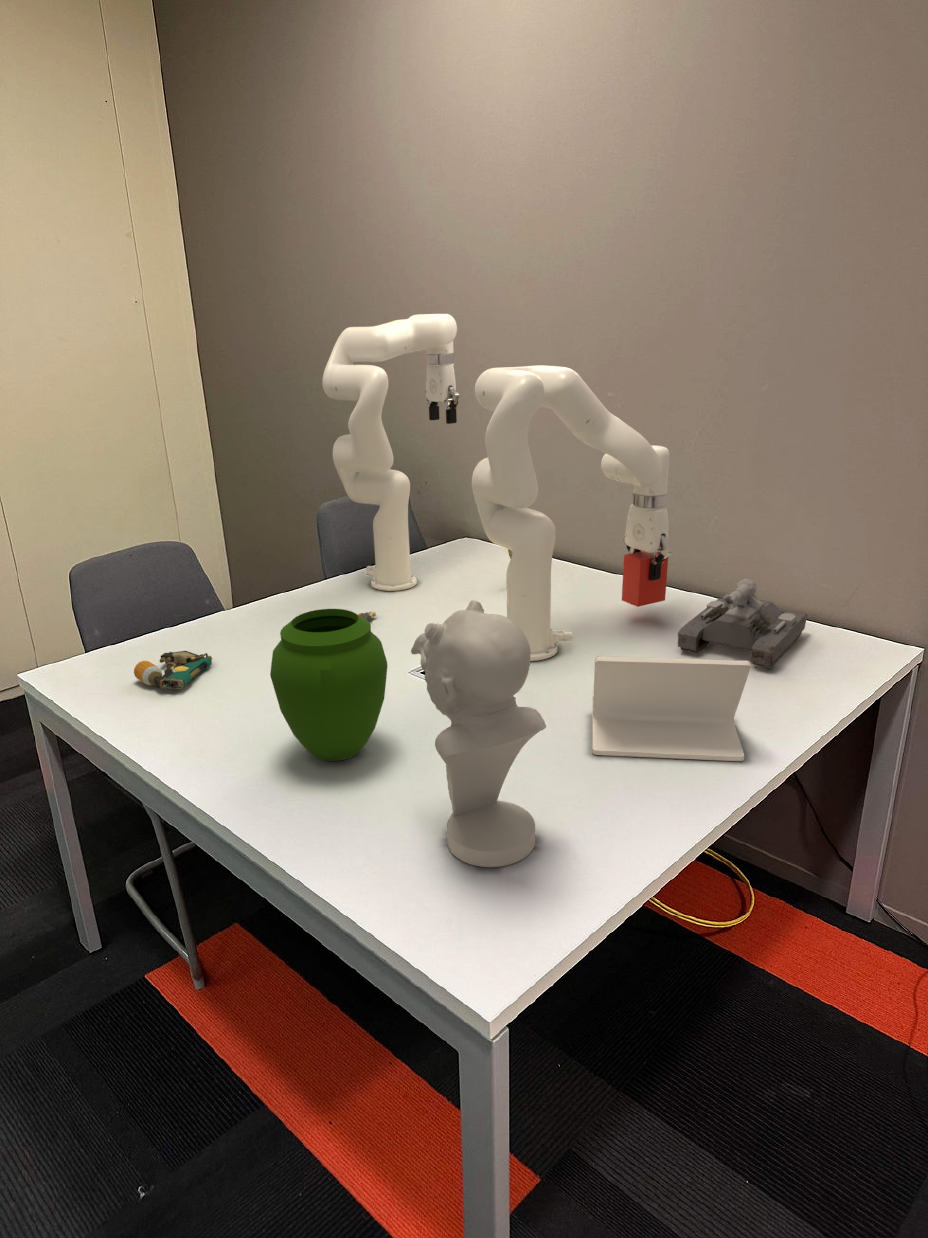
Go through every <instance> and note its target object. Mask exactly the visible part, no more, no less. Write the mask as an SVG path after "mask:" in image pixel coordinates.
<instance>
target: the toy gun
mask: <svg viewBox="0 0 928 1238" xmlns="http://www.w3.org/2000/svg"><path fill="white" fill-rule="evenodd" d="M357 615H359V616H361V617H363V618H365V619H366V620H367V621H369V622H370V620H371V619H373V618H374V617H377V612H376V611H369V612H368V611H366V612H359V613H358V614H357Z"/></svg>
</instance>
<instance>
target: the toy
mask: <svg viewBox="0 0 928 1238" xmlns="http://www.w3.org/2000/svg"><path fill="white" fill-rule="evenodd" d="M757 590H758V589H757V584H756V583H755V582H754V580H752V579H750V578H743V579H741V580H740V581H738V582H737V585H736V588H735V589H734V590H733V591H732V592H730V593H725V594H724V596H723V597H722V598H720V597H719V598H717V599H716V600H711V601H710V602H709V603H707V604H706V607H705V608H704V609H703V610H701V612H699V613H698V614H697V615H696V616H694V617H692V619H690V620H688V622H686V623H685V624H684V625H682V626H681V627H680V629H679V630H678V632H677V647H679V649H680V650H681V651H683V652H688V653H693V654H699V653H700V652H701V651H703V650H704V649H705V648H706V647H707V646H708V645H710V644H713V645H718V646H724V647H728V648H734V649H738V650H743V651H748V652H750V661H749V662H750V663H752V665H755V666H759V667H764V668H769V669H772V668H773V667H774V665H776V664H777V662H778V661H779V660H781V658H782V657H783V656H784V655H785V654H786V652H788V651H789V650H790V648H791V647H792V646H793V645H794V644H795V643H797V640H799V638H801V635H802V633H803V631H804V630H805V628H806V624H807V619H808V613H803V612H799V611H793V610H786V611H785V612H783V611H781V610H780V608H778V606H777V605H775V603H774V602H773V601H772V600H765V599H759V598H758V596H756V595H755V594H756V592H757Z"/></svg>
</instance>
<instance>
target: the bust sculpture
mask: <svg viewBox="0 0 928 1238" xmlns="http://www.w3.org/2000/svg"><path fill="white" fill-rule="evenodd" d="M530 653H531V652H530V646H529V643H528V640H527V638H526V636H525V634H524V633H523V632H522V630H521V629H520V628H519V627H518V626H517V625H516V624H515V623H514V622H513V621H512V620H511V619H509V618H507V616H504V615H503V614H502V615H501V614H496V613H485V609H484V607H483V605H482V603H481V602H480V601H478V600H473V599H472V600H470V601H469V603H468V605H467V607H466V609H460V610H457V611H455V612H453V613H451V615H449V616H448V617H447V618H446V619H445V620H444V622H442V624H441V623H435V622H430V623H428V624H427V625H426V626H425V628H424V632H423V633H421V634H419V635H418V636H417V637H416V638H415V640H414V642H413V645H412V647H411V649H410V654H412V655H420V667H421V669H422V670H423V672H424V681H425V682H426V690H427V693H428V696H429V698H430V701H431V702H432V704H434V706H435V708H436V710H438V711H439V712H440V713H441V714H442V716H446V717H447V718H448V719H449V720H450V726H448V727H446V728H445V729H443V730H442V731H441V732H440V733H439V734H438V735H436V738H435V741H434V748H435V749H436V752H437V753H438V755H439V757H440V758H441V760H442V761H443V762H444V763H445V771H446V781H447V790H448V796H449V800H450V803H451V810H452V813H451V814H450V815H449V817H448V819H447V822H446V844H447V847H448V849H449V851H450V852H451V854H452V855H453V856H454V857H456V858H457V859H459V860H460V861H462V862H463V863H466V864H469V865H471V866H476V867H483V868H498V867H505V866H509V865H512V864H517V862H520V861H521V860H523V859H525V858H527V856H528V855H530V854H531V852H532V851H533V849H535V848H534V847H535V845H536V822H535V821H536V820H535V819H534V817H533V816H532V814H531V813H530V812H529V811H528V810H526V809H525V808H524V807H522V806H520V805H517V804H515V803H513V802H509V801H504V800H499V796H500V793H501V790H502V788H503V785H504V783H505V780H506V778H507V776H508V773H509V771H510V769H511V768H512V765H513V763H514V761H515V760H516V759H517V756H518V755H519V753H520V752H521V750H522V749H523V748H524V747H525V745H526V744H527V743H528V742H529V741H530V740H531V739H532V738H533V737H535V735H537V734H538V733H539V732H541V731H544V730H545V729H546V728H547V725H546V723H545V720H544V718H543V717H542V714H541V713H540V712H539V711H538V710H537V709H535V708H533V707H530V706H518V705H517V701H516V699H517V698H516V696H515V695H516V694H517V693H519V691H521V689H522V688H523V686H524V684H525V683H526V680H527V678H528V675H529V669H530V666H531V661H530V656H531V655H530Z"/></svg>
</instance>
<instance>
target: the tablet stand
mask: <svg viewBox="0 0 928 1238" xmlns="http://www.w3.org/2000/svg"><path fill="white" fill-rule="evenodd" d="M751 668H752V667H751V662H750V661H749V660H733V659H699V658H666V657H665V658H664V657H663V658H661V657H629V656H596V657H595V658H594V668H593V669H594V672H593V675H594V676H593V693H592V710H591V711H592V712H591V713H592V715H591V716H592V719H591V721H592V725H591V726H592V754H593V755H595V756H613V757H614V756H615V757H635V758H636V757H637V758H660V759H681V760H682V759H683V760H704V761H705V760H707V761H727V762H743V761H744V759H745V753H744V750H743V747H742V743H741V741H740V737H739V734H738V731H737V728H736V726H735V716H736V713H737V710H738V707H739V704H740V701H741V698H742V695H743V692H744V689H745V686H746V683H747V680H748V677H749V674H750V671H751Z"/></svg>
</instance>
